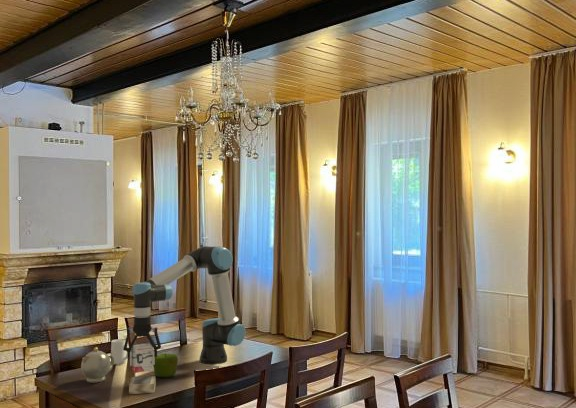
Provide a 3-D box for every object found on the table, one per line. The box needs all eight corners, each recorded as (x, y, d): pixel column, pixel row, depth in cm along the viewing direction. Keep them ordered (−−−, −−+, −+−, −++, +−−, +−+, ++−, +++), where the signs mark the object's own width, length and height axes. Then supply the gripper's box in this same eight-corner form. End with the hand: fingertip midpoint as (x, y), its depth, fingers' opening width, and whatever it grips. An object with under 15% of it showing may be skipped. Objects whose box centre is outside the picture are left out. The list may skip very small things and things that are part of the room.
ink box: (135, 373, 261) (135, 347, 261) (131, 370, 265) (131, 345, 265) (153, 370, 266) (153, 344, 266) (149, 368, 270) (149, 342, 270)
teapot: (91, 386, 270) (91, 351, 270) (74, 382, 278) (74, 348, 278) (122, 378, 284) (122, 344, 285) (105, 373, 292) (105, 341, 293)
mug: (124, 365, 308) (124, 343, 308) (107, 363, 314) (107, 341, 314) (135, 362, 315) (134, 340, 316) (118, 360, 321) (118, 338, 321)
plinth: (155, 384, 272) (155, 375, 273) (154, 392, 260) (154, 382, 260) (131, 385, 271) (131, 376, 271) (129, 394, 258) (129, 384, 258)
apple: (150, 374, 290) (150, 352, 290) (174, 371, 295) (174, 349, 295) (155, 381, 278) (155, 357, 279) (180, 377, 283) (180, 354, 283)
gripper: (166, 314, 272) (167, 361, 271) (118, 315, 268) (118, 364, 267) (166, 316, 264) (166, 365, 264) (116, 318, 260) (116, 368, 260)
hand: (142, 364), depth 265 cm, fingers closed on ink box, 9 cm apart
